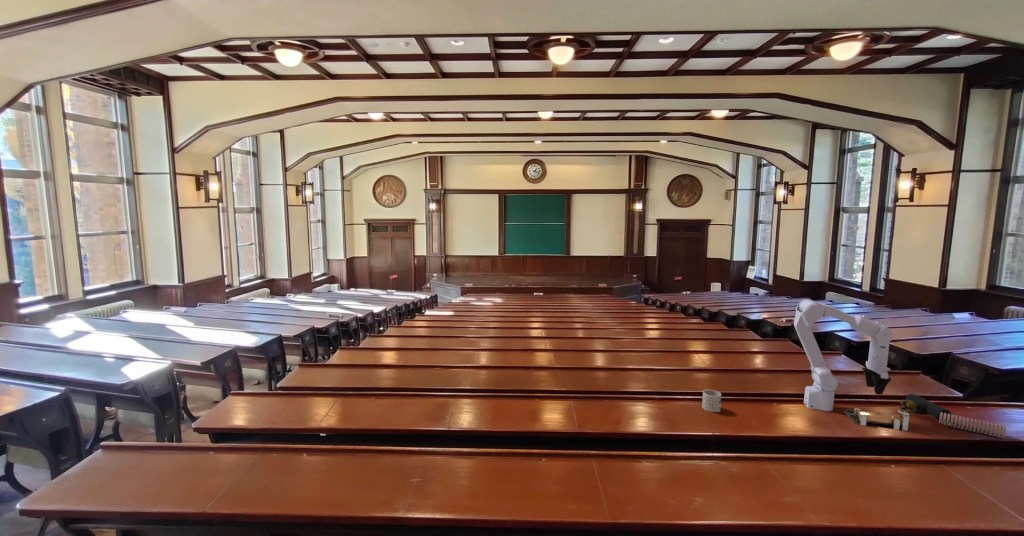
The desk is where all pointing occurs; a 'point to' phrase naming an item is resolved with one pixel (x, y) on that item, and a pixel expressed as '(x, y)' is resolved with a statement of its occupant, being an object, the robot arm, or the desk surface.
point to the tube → (879, 418)
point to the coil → (960, 424)
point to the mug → (711, 400)
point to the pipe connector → (922, 406)
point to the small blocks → (863, 418)
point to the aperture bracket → (904, 420)
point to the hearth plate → (851, 413)
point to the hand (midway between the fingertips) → (874, 390)
